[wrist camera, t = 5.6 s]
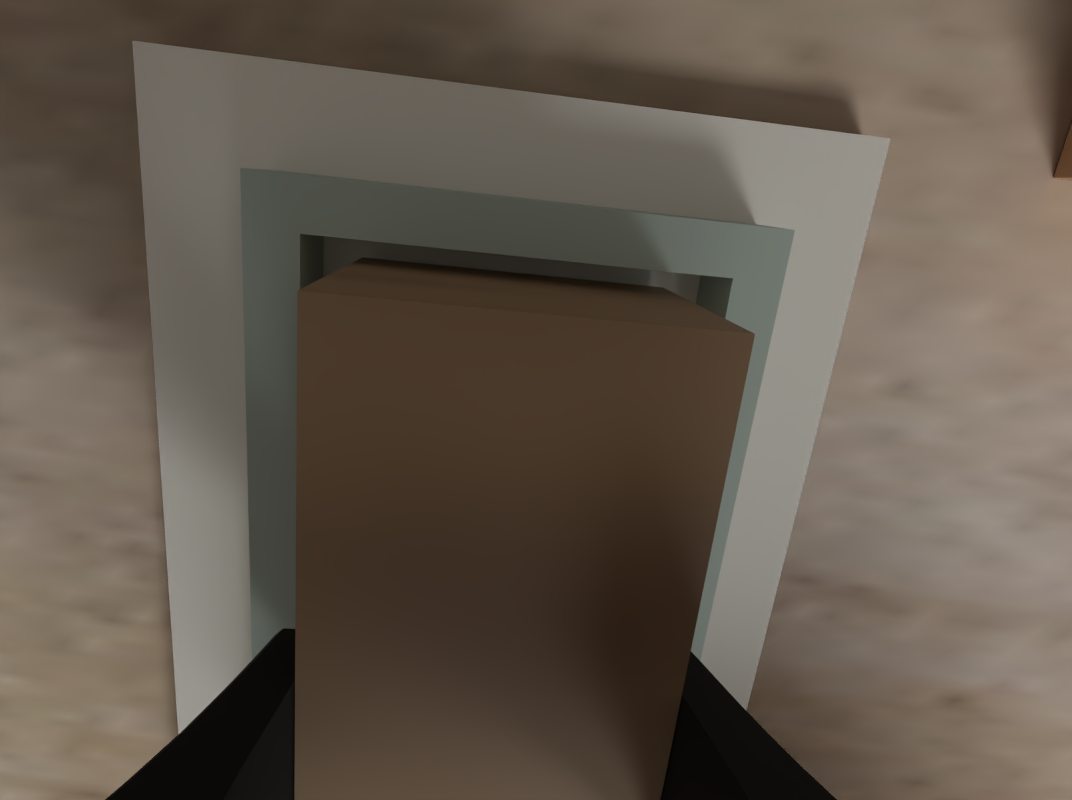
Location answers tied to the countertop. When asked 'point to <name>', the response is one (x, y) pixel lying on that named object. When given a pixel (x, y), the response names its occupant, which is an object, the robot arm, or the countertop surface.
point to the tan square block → (1065, 159)
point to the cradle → (471, 242)
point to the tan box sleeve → (501, 529)
